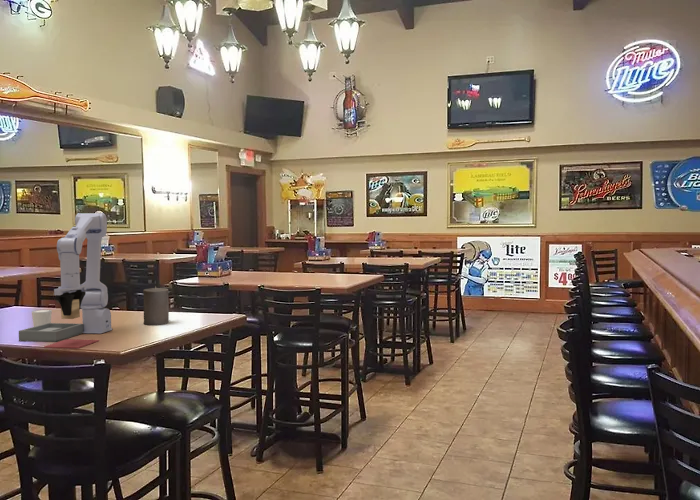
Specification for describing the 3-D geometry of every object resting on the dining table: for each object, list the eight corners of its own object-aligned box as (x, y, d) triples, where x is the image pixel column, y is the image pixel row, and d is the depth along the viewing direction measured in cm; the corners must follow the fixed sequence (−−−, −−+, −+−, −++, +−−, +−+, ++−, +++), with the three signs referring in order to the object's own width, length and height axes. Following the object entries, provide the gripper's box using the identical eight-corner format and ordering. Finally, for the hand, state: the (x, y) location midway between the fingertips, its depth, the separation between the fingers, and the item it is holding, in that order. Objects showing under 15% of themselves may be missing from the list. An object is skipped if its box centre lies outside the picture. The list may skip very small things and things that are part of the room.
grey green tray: (83, 333, 220) (83, 323, 220) (56, 341, 204) (55, 331, 204) (48, 332, 222) (48, 323, 222) (18, 340, 206) (18, 330, 206)
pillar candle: (138, 324, 238) (137, 286, 237) (156, 320, 247) (156, 284, 246) (156, 326, 233) (155, 288, 233) (174, 322, 242) (173, 285, 241)
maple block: (79, 317, 201) (79, 299, 201) (72, 318, 197) (71, 300, 197) (68, 316, 202) (68, 299, 201) (61, 318, 198) (60, 300, 197)
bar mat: (99, 341, 205) (99, 339, 205) (78, 348, 193) (78, 347, 193) (66, 340, 207) (66, 339, 207) (44, 347, 195) (44, 346, 195)
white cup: (30, 331, 225) (29, 312, 224) (34, 328, 231) (34, 310, 231) (50, 330, 226) (49, 311, 226) (54, 327, 233) (53, 309, 233)
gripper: (72, 271, 206) (73, 310, 207) (44, 275, 192) (46, 317, 193) (91, 271, 205) (92, 311, 206) (65, 275, 191) (66, 317, 192)
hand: (71, 314), depth 199 cm, fingers closed on maple block, 4 cm apart
